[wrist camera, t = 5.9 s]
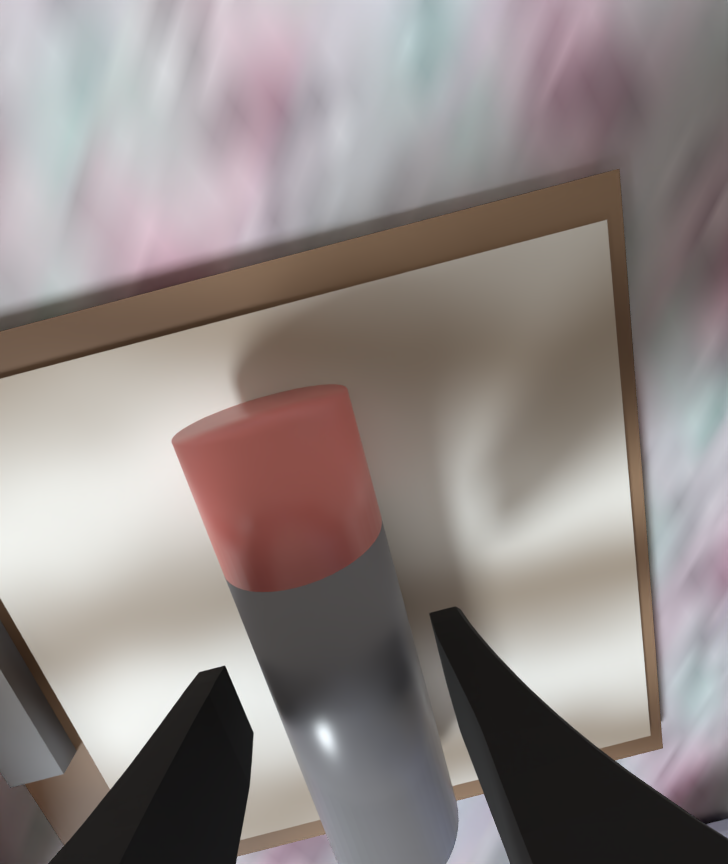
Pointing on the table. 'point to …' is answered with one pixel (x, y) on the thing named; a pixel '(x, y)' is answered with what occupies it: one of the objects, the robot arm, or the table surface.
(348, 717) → the marker
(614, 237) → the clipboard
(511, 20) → the table surface
